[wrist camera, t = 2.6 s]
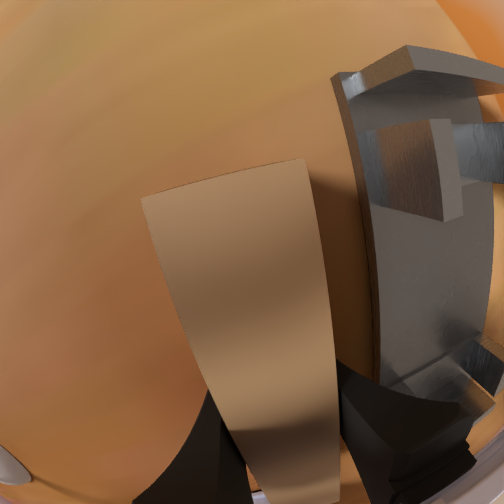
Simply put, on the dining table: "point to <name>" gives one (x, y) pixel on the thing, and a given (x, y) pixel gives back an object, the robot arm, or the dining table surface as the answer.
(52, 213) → the dining table surface
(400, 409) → the robot arm
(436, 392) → the bracket board
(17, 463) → the lamp
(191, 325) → the rail
